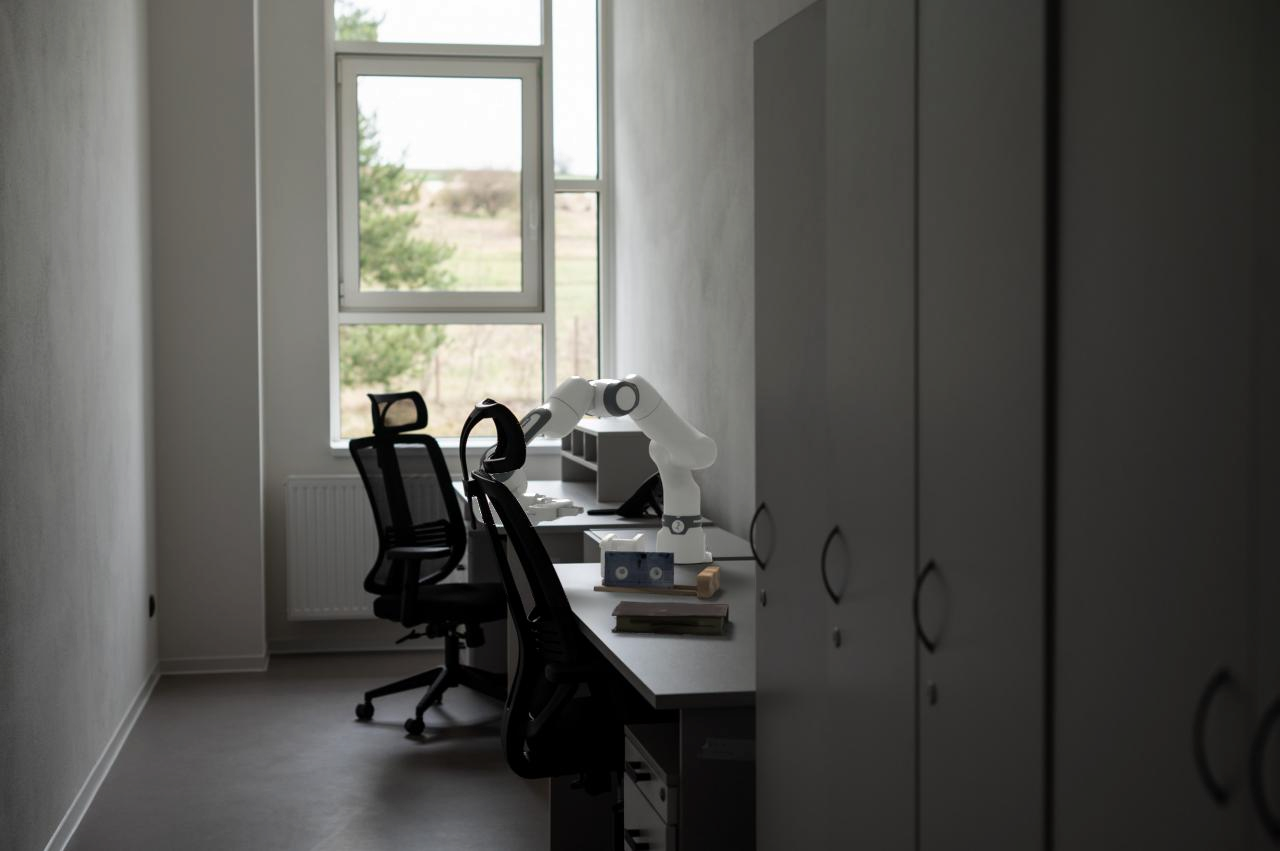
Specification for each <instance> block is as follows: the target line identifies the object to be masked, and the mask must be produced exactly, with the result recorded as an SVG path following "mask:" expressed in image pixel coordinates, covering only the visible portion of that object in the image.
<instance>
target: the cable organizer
mask: <svg viewBox="0 0 1280 851" xmlns="http://www.w3.org/2000/svg"><path fill="white" fill-rule="evenodd" d="M645 545H646V538H645V533H637V534H636V535H635V536H634V537H633V538H632V539H625V538H624V539H623V538H617V534H616V533H608V534H606V535H605V536H604V537H602V539H601V540H600V541H599V545H598V546H599V548H600V577H601V579H602V578H603V579H604V570H605V569H604V566H605V551H620V552H623V551H627V552H646V551H645V550H646V547H645Z"/></svg>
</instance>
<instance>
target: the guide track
mask: <svg viewBox="0 0 1280 851" xmlns="http://www.w3.org/2000/svg"><path fill="white" fill-rule="evenodd" d="M720 570H721V566H710V565H709V566H707V567H706V568H704V569H703V570H702V571H701V572H700V573H698V574H697V575H696V579H697V580H696V582H697V583H696V584H684V583H683V584H681V583H680V584H678V583H674V590H672V589H652V588H631V587H611V586H604V580H602V581H601V585H593V591H595V592H597V591H598V592H599V591H600V592H616V593H617V592H618V593H620V592H621V593H639V594H655V595H656V594H658V595H659V594H660V595H677V596H680V595H681V596H696V598H697V599H710V598H711V597H712V596H713V595H714V594H715V593H716V592H717V591H718V590H719V589H720Z"/></svg>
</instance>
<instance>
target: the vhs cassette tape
mask: <svg viewBox="0 0 1280 851" xmlns="http://www.w3.org/2000/svg"><path fill="white" fill-rule="evenodd" d="M604 569H605V570H604V578H603V581H604V585H603V586H611V587H631V588H652V589H672V590H675V589H674V584H675V563H674V553H673V552H671V553H669V552H656V551H645V552H627V551H623V552H620V551H605V566H604Z"/></svg>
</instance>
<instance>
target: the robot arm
mask: <svg viewBox="0 0 1280 851" xmlns="http://www.w3.org/2000/svg"><path fill="white" fill-rule="evenodd" d="M627 415H628V416H629V417H630V418H631V419H632V421H633V422H634V423H635V424H636V425H637V427H638V428H639V429H640V430H641V432H642V433H643V434H644V435H645V436H646V438H648V439H650V442H649V446H648V453H649V457H650V459H651V460H652V461H653V462H654V463H655V466H657V468H658V473H659V476H660V479H661V483H662V489H663V513H662V514H661V515H662V516H661V526H662V528H661V529H660V530H659V531H657V535H656V546H655V549H656V550H655V552H669V553H671V552H673V553H674V564H683V565H684V564H685V565H686V564H699V563H712V562H713V556H712V552H711V551H710V552H709V551H708V549H709V547H708V545H706V533H705V532H704V531H703V528H702V525H703V517H702V514H701V489H700V486H699V485H698V484H697V483H696V481H695V479H694V477H693V475H692V474H693V473H692V471H691V470H694V471H695V470H696V471H697V470H702V469H707V468H709V467H711V466H712V465H713V464H714V463H715V461H716V460H717V457H718V447H717V444H716V442H715V440H714V439H713V438H712V437H710V436H707V435H706V434H704V433H702V432H701V431H699V430H698V429H697V428H695V426H693V425H692V424H691V423H689V422H688V421H686V420H685V419H684V418H683V417H681V416H680V415H679V414H678V413H677V412H675V410H674V409H673V407H671V405H669V403H668V402H667V401H666V400H665V399H664V397H663V396H662V395H661V394H660V393H659V392H658V390H657V389H656V388H655V387H654V386H653V384H651V383H650V382H648V381H647V380H646V379H645V378H644V377H642V376H641V375H640V374H635V373H631V374H627V375H626V376H624V377H623V378H621V379H618V378H617V379H614V378H601V379H590V380H587V379H586V378H584V377H581V376H578V375H574V376H573V375H572V376H570V377H568V378H567V379H565V380H564V381H563V382H562V383H561V384H560V385H559V386H557V387H556V389H554V391H553V392H552V393H551V394H550V395H549V397H548V398H547V399H546V400H545V401H544V402H543V403H542V404H541V405H540V406H539V407H535V408H533V409H532V410H530V411H529V412H528V413H526V414H525V416H524V417H523V418H522V419H520V420H519V421H518V423H520V425H521V427H522V430H523V432H524V436H525V442H526V448H528V446H529V445H530V444H531V443H532V442H533V441H534V440H535V439H536V438H537V437H539V435H541V434H542V435H544V436H545V437H548V438H550V439H563V438H566V436H568V435H569V434H571V433H572V432H573V431H574V429H575V428H576V427H577V426H578V424H579V423H580V421H581V420H582V419H583V418H584V416H589V417H598V418H612V417H615V418H620V417H624V416H627ZM496 447H497V442H496V443H494V444H493V445H491V446H489V447H487V449H486V450H485V451H484V452H483V454H482V455H481V457H480V460H479V469H480V468H481V466H482V463H483V461H484V460H485V459H486V458H488V457H489V456H490V455H491V454H492V453H493V452H494V451H495V449H496ZM492 476H493V477H494V478H495V479H496V480H498V481H500V482H502V483H504V484H505V485H506V486H507V487H508V488H509V489H510V490H511V492H512V493H513V494H514V496H515V497H516V498H517V499H518V501H519V502H520V504H521V506H522V508H523V509H524V511H525V513H526V514H527V516H528V518H529V520H530V522H531V523H532V525H533V526H532V527H537V526H538V525H539V523H543V522H554V521H556V520H559V519H561V518H564V517H577V516H579V515H581V514H582V515H583V514H584V513H585V508H584V506H578V505H577V506H576V505H574V501H573V500H570V499H565V498H557V497H547V495H545V494H539V493H536V492H534V493H533V492H527V489H528V479H527V476H526V474H525V472H524V469H523V467H521V468H520V469H517V470H514V471H511V472H507V473H499V474H493V475H492ZM489 506H490V509H491V512H492V515H493V519H494V522H495V524H494V525H497V526H498V525H499V526H503V525H502V523H501V521H500V519H499V517H498V515H497V513H496V511H495V510H494V508H493V506H492V504H491V502H489ZM471 507H472V513H473V515H474V517H475V518H476V521H478V522H480V523H483V524H485V523H484V521H483V519H482V516H481V513H480V510H479V505H478V502H477V499H476V498H475V497H473V496H472V499H471Z"/></svg>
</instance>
